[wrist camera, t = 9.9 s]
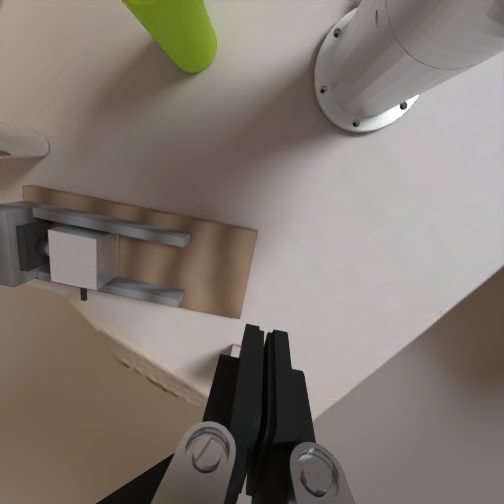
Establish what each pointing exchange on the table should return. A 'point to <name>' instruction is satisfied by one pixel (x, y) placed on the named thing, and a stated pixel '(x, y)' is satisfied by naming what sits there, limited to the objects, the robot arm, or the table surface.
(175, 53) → the soap dispenser
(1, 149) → the milkshake
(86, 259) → the slider
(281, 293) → the table surface
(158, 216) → the gauge bench
